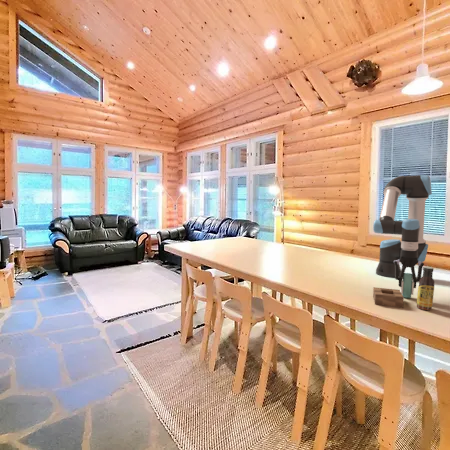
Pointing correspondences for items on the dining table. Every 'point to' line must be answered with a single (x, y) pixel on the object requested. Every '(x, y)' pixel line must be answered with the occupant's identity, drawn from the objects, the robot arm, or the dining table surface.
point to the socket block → (388, 297)
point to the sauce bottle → (426, 290)
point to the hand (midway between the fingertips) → (406, 293)
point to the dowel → (407, 285)
